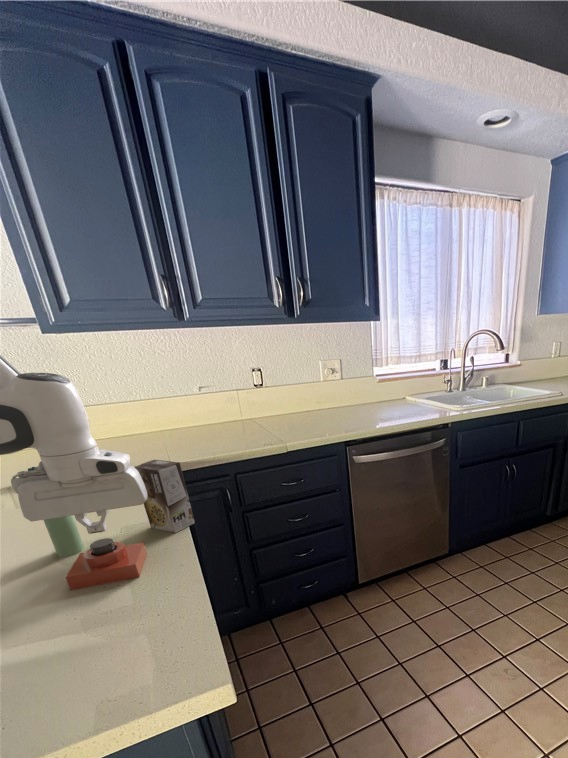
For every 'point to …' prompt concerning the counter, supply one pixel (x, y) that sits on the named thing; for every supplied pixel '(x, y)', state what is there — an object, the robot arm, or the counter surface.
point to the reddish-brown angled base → (107, 566)
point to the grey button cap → (102, 547)
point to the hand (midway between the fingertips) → (98, 531)
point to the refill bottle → (64, 535)
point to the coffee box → (166, 495)
